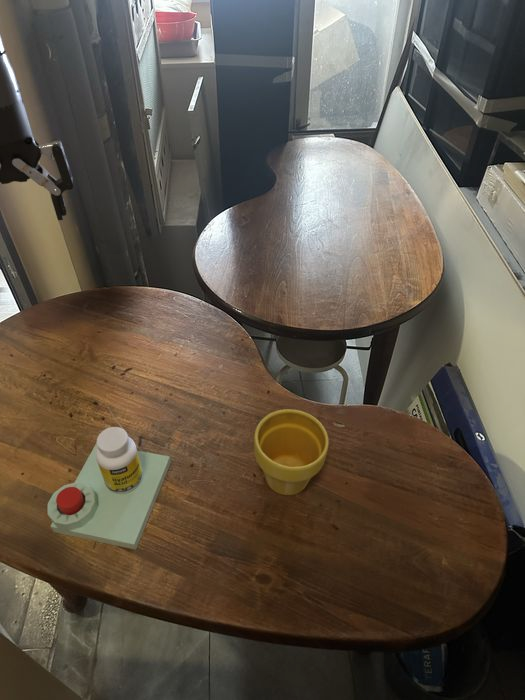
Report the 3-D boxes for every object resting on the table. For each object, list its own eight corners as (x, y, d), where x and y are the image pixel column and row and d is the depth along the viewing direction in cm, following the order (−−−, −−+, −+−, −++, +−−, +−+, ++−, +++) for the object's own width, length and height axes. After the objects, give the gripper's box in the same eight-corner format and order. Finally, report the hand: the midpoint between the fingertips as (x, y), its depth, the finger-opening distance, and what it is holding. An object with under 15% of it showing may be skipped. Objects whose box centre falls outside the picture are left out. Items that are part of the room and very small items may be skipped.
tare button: (55, 512, 65) (51, 505, 63) (66, 491, 67) (63, 484, 66) (77, 516, 64) (73, 510, 63) (88, 495, 67) (85, 489, 65)
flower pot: (318, 447, 77) (325, 408, 70) (324, 507, 69) (332, 470, 63) (253, 447, 77) (254, 407, 70) (252, 506, 69) (253, 469, 62)
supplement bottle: (116, 502, 67) (101, 462, 61) (98, 476, 70) (83, 435, 64) (150, 481, 70) (139, 441, 63) (132, 456, 73) (120, 415, 66)
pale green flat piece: (46, 531, 66) (38, 518, 64) (92, 447, 76) (87, 434, 74) (136, 550, 64) (131, 538, 62) (171, 462, 74) (168, 449, 72)
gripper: (-88, 111, 52) (-29, 242, 64) (50, 102, 56) (83, 227, 67) (-76, 91, 57) (-24, 215, 69) (49, 83, 61) (80, 203, 72)
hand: (29, 221), depth 68 cm, fingers open, 8 cm apart
